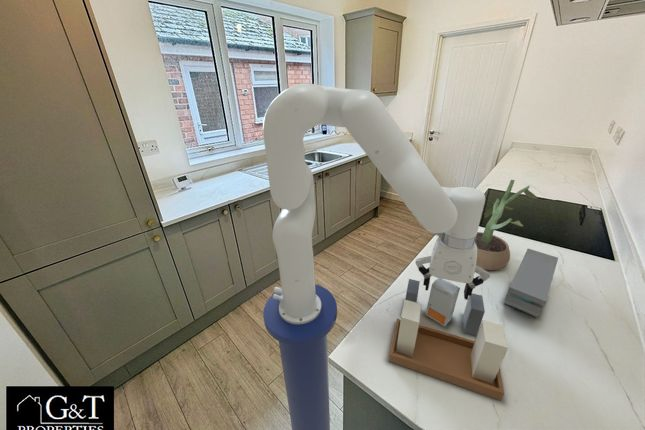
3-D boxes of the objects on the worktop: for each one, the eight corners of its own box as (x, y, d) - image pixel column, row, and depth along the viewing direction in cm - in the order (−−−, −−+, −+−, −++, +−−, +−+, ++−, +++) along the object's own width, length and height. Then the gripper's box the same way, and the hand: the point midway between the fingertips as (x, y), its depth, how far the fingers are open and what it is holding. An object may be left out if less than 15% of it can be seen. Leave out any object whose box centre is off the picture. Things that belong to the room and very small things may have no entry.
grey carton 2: (464, 332, 70) (471, 308, 66) (462, 316, 75) (469, 292, 71) (476, 336, 69) (484, 311, 65) (474, 319, 74) (482, 295, 70)
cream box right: (472, 377, 59) (485, 341, 54) (470, 354, 64) (482, 319, 59) (492, 384, 58) (508, 347, 52) (489, 360, 63) (503, 325, 57)
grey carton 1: (403, 315, 76) (406, 292, 72) (405, 301, 81) (409, 278, 77) (413, 318, 75) (417, 294, 71) (415, 303, 80) (419, 281, 76)
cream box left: (395, 351, 65) (401, 317, 60) (399, 332, 70) (404, 299, 65) (412, 357, 64) (419, 322, 59) (415, 337, 69) (421, 303, 64)
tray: (388, 361, 64) (389, 354, 63) (396, 325, 73) (397, 318, 72) (500, 400, 55) (504, 393, 54) (493, 354, 65) (495, 347, 64)
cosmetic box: (424, 315, 76) (431, 283, 71) (431, 307, 79) (438, 276, 73) (445, 327, 72) (453, 295, 67) (452, 319, 75) (460, 287, 69)
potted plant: (496, 280, 88) (524, 199, 75) (447, 256, 102) (463, 183, 88) (525, 257, 100) (554, 182, 86) (477, 237, 113) (496, 170, 100)
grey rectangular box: (531, 331, 70) (546, 301, 65) (498, 316, 75) (509, 287, 70) (546, 284, 86) (558, 257, 81) (517, 274, 91) (527, 248, 86)
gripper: (418, 239, 64) (410, 292, 71) (501, 252, 57) (483, 310, 65) (421, 225, 70) (413, 276, 77) (496, 236, 63) (480, 290, 71)
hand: (445, 291), depth 71 cm, fingers open, 9 cm apart
